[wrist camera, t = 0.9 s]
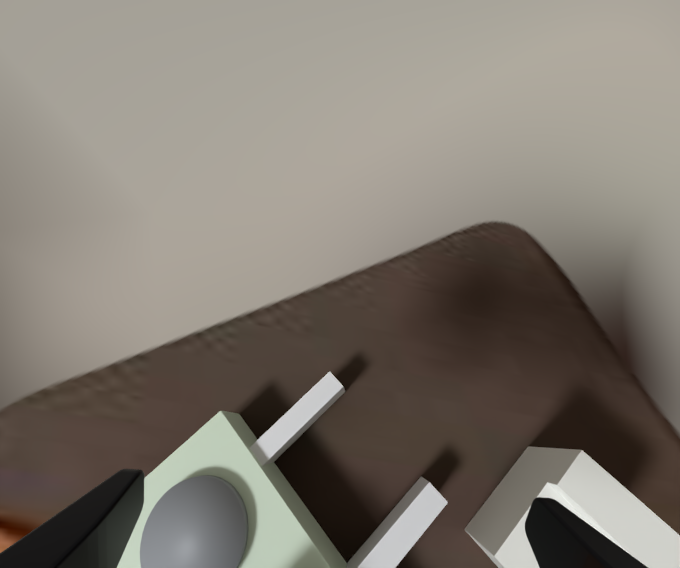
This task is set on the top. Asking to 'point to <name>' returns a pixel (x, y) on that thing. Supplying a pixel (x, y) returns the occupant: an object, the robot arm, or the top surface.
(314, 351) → the top surface
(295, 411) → the green block with prongs
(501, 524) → the white lidded box
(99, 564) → the robot arm
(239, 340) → the top surface
